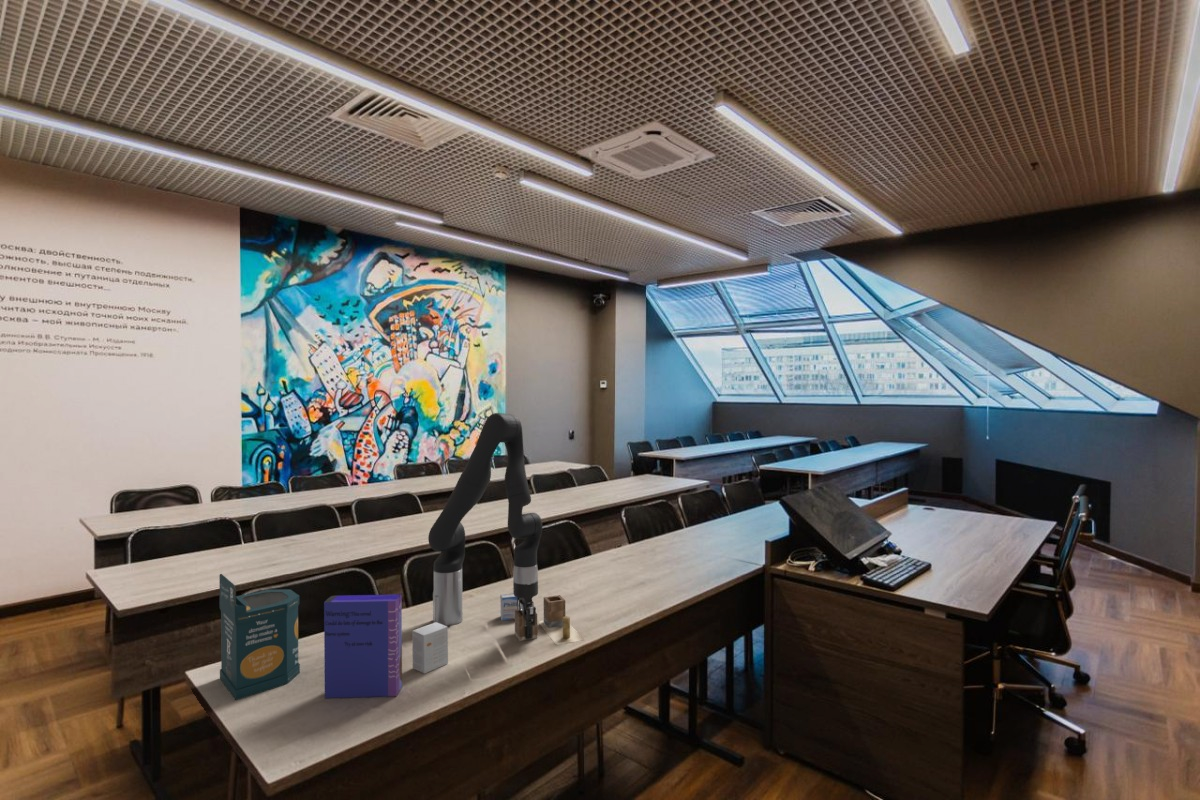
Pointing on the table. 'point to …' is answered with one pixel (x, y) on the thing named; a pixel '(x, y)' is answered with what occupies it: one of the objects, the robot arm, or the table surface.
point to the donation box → (257, 639)
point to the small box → (430, 647)
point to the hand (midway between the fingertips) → (526, 634)
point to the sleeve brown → (523, 626)
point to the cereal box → (363, 646)
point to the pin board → (562, 632)
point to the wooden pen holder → (554, 611)
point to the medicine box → (508, 606)
